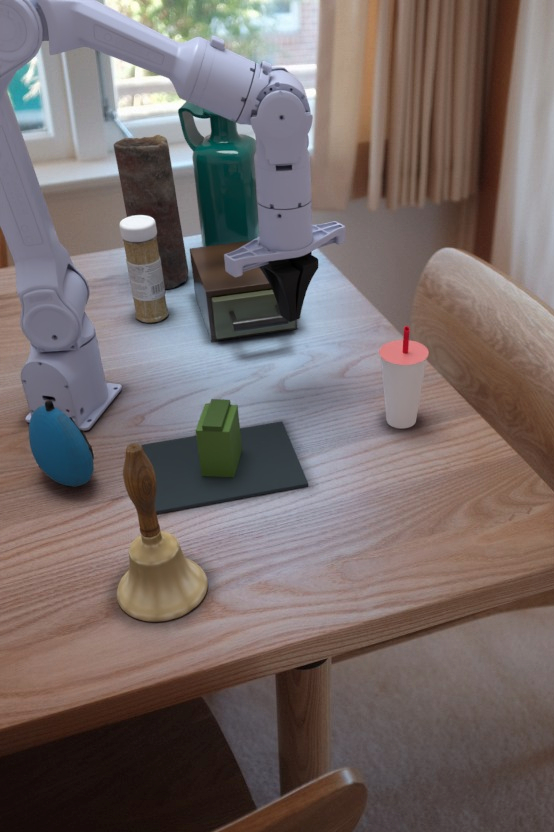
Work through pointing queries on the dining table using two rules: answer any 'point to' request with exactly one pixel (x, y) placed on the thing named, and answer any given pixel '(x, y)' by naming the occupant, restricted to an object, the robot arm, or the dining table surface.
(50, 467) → the ornament
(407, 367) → the cup
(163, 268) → the candle
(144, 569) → the hand bell
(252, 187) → the pitcher
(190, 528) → the dining table surface
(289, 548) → the dining table surface
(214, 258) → the cabinet
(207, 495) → the mat
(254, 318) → the drawer
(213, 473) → the green stepped block
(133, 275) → the sprinkles bottle
